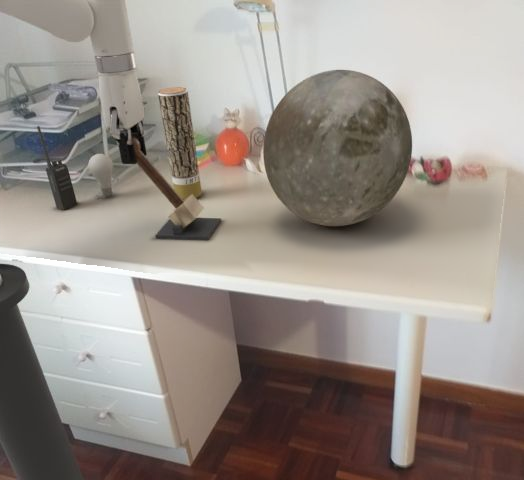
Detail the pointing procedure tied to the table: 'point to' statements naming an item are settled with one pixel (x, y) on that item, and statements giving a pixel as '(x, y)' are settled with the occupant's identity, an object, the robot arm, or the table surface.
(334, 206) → the globe
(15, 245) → the table surface
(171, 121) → the paper tube
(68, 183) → the walkie-talkie
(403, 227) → the table surface
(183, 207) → the mallet
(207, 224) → the stand
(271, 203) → the table surface
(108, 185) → the lightbulb
